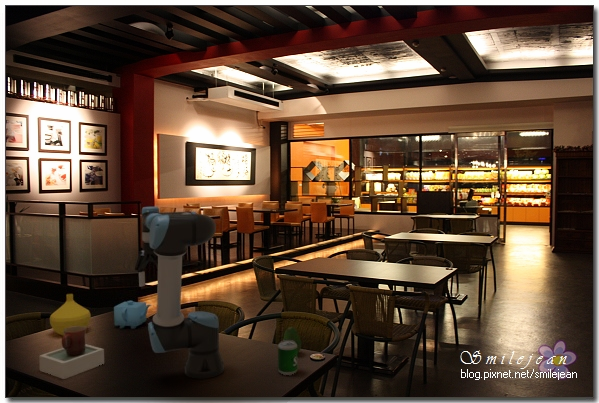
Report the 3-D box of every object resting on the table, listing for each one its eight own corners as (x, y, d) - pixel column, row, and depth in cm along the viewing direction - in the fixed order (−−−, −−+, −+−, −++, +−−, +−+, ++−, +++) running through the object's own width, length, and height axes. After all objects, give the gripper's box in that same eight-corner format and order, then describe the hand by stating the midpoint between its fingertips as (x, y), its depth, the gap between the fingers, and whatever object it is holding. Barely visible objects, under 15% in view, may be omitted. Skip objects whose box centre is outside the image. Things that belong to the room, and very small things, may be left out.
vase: (58, 327, 255) (57, 290, 254) (95, 326, 257) (94, 289, 256) (44, 339, 237) (42, 300, 236) (84, 338, 239) (83, 298, 238)
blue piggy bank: (111, 329, 251) (111, 304, 251) (127, 320, 267) (126, 296, 266) (145, 331, 248) (144, 305, 248) (159, 322, 264) (158, 298, 263)
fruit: (285, 350, 220) (284, 324, 219) (302, 352, 218) (302, 325, 218) (280, 357, 212) (280, 329, 212) (299, 358, 211) (298, 330, 210)
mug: (73, 349, 209) (72, 325, 209) (91, 350, 208) (91, 326, 207) (53, 359, 198) (52, 334, 197) (73, 361, 196) (72, 335, 195)
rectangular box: (104, 363, 207) (103, 349, 206) (63, 379, 191) (63, 363, 191) (80, 356, 215) (79, 342, 215) (39, 370, 200) (39, 355, 199)
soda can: (290, 377, 191) (290, 347, 190) (274, 373, 195) (274, 343, 194) (301, 371, 197) (300, 341, 197) (285, 367, 201) (284, 338, 201)
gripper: (177, 242, 221) (178, 289, 223) (139, 238, 235) (140, 283, 236) (164, 244, 215) (165, 292, 216) (125, 240, 228) (127, 286, 229)
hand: (152, 287), depth 226 cm, fingers open, 13 cm apart
